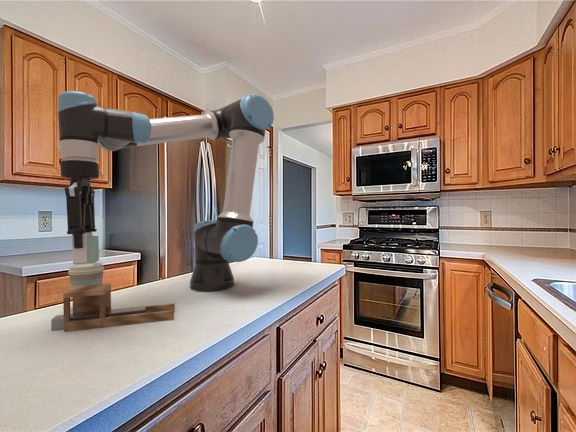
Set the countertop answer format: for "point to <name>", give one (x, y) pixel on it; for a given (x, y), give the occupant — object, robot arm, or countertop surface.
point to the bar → (94, 316)
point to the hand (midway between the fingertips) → (83, 260)
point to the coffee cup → (86, 274)
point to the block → (92, 250)
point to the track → (100, 300)
